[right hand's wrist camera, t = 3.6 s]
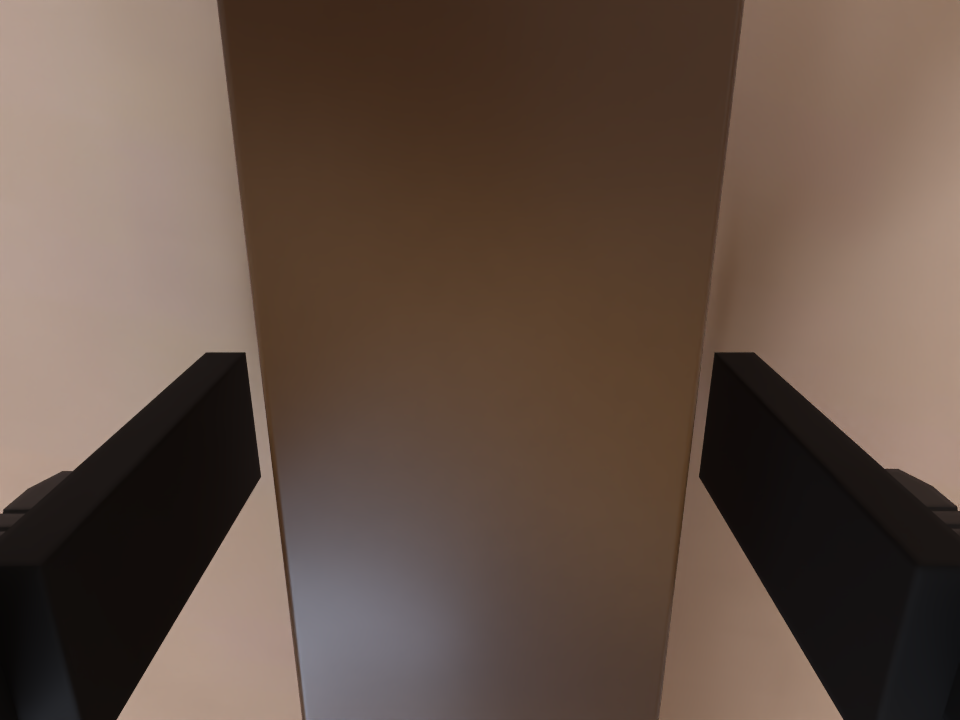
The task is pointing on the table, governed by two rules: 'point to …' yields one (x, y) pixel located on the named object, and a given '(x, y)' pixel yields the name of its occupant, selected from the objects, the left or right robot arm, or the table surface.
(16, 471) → the table surface
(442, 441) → the post
